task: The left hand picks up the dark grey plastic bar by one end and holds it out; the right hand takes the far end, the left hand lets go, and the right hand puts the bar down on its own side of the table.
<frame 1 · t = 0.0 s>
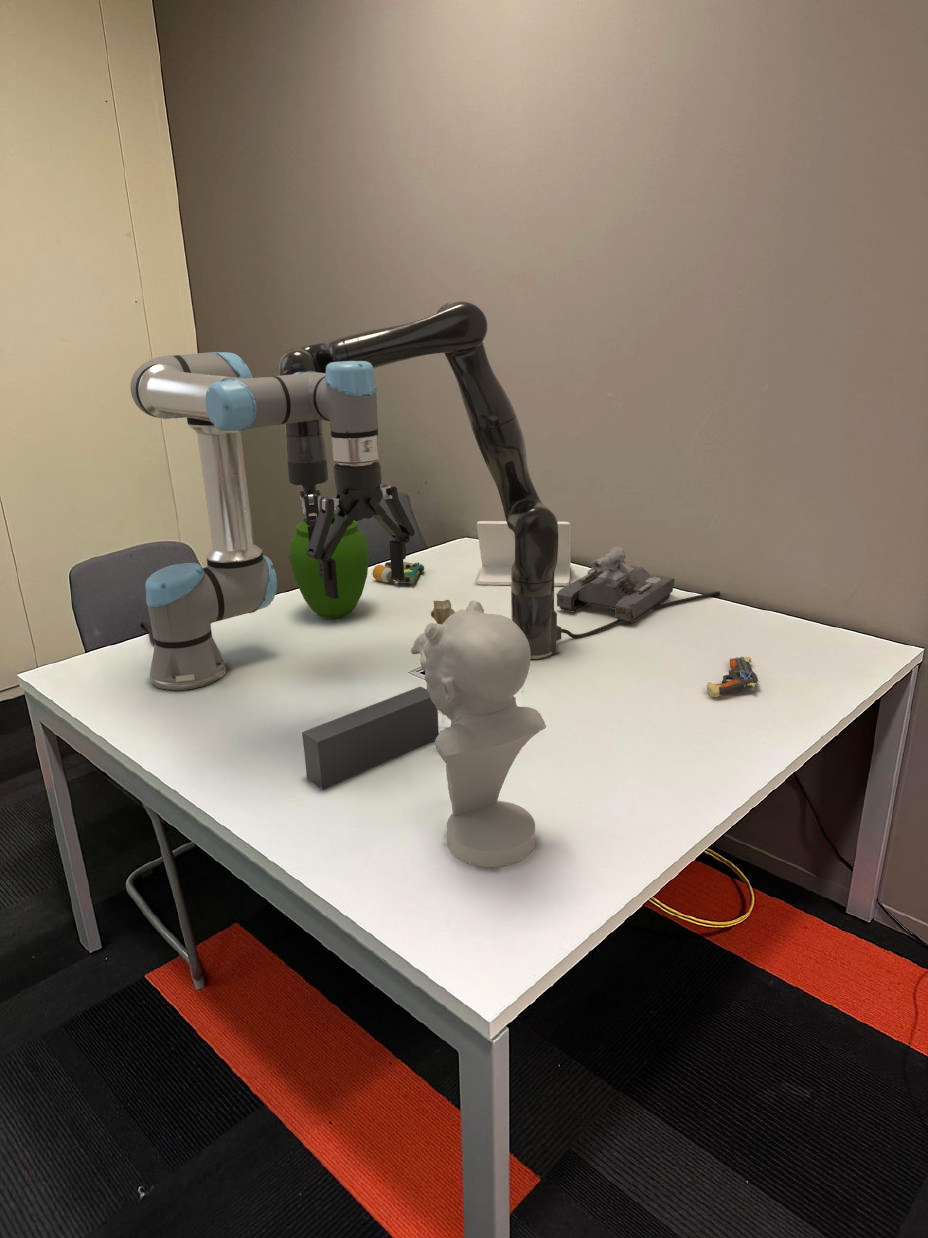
left hand: (365, 587, 144), 28 cm above the table, tool pointing down, fingers open, 13 cm apart
right hand: (314, 539, 170), 29 cm above the table, tool pointing down, fingers open, 8 cm apart
tablet stand: (525, 575, 239), on the table
vase: (334, 614, 214), on the table
spray gun: (401, 577, 240), on the table
sculpture: (445, 671, 180), on the table
bar: (375, 757, 146), on the table
toy gun: (730, 681, 171), on the table
bust sculpture: (470, 832, 125), on the table
toy: (615, 605, 214), on the table
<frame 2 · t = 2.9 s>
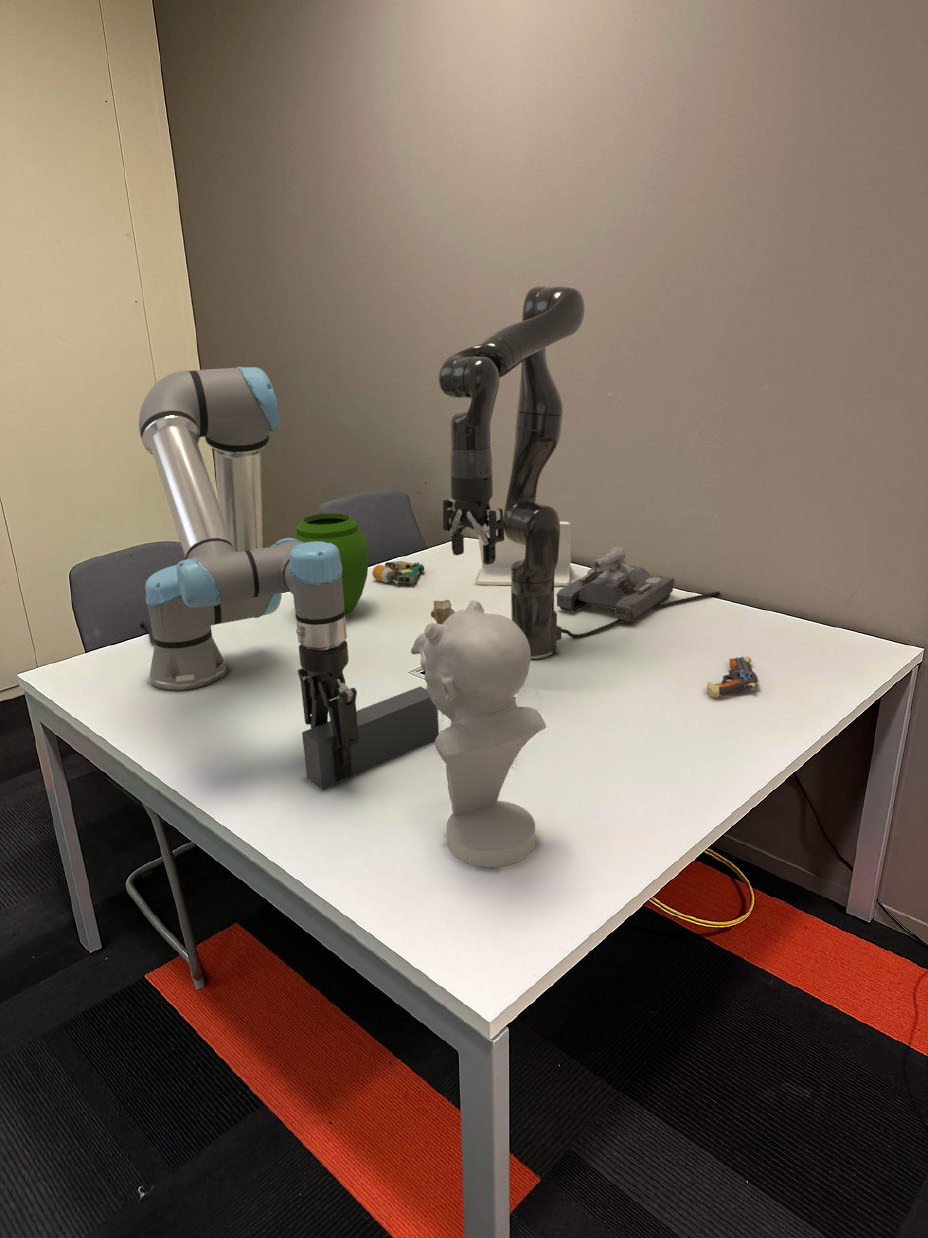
left hand: (334, 772, 141), 1 cm above the table, tool pointing down, fingers closed on bar, 5 cm apart
right hand: (473, 558, 159), 28 cm above the table, tool pointing down, fingers open, 8 cm apart
bar: (375, 757, 146), on the table, touching left hand
everything else where it was.
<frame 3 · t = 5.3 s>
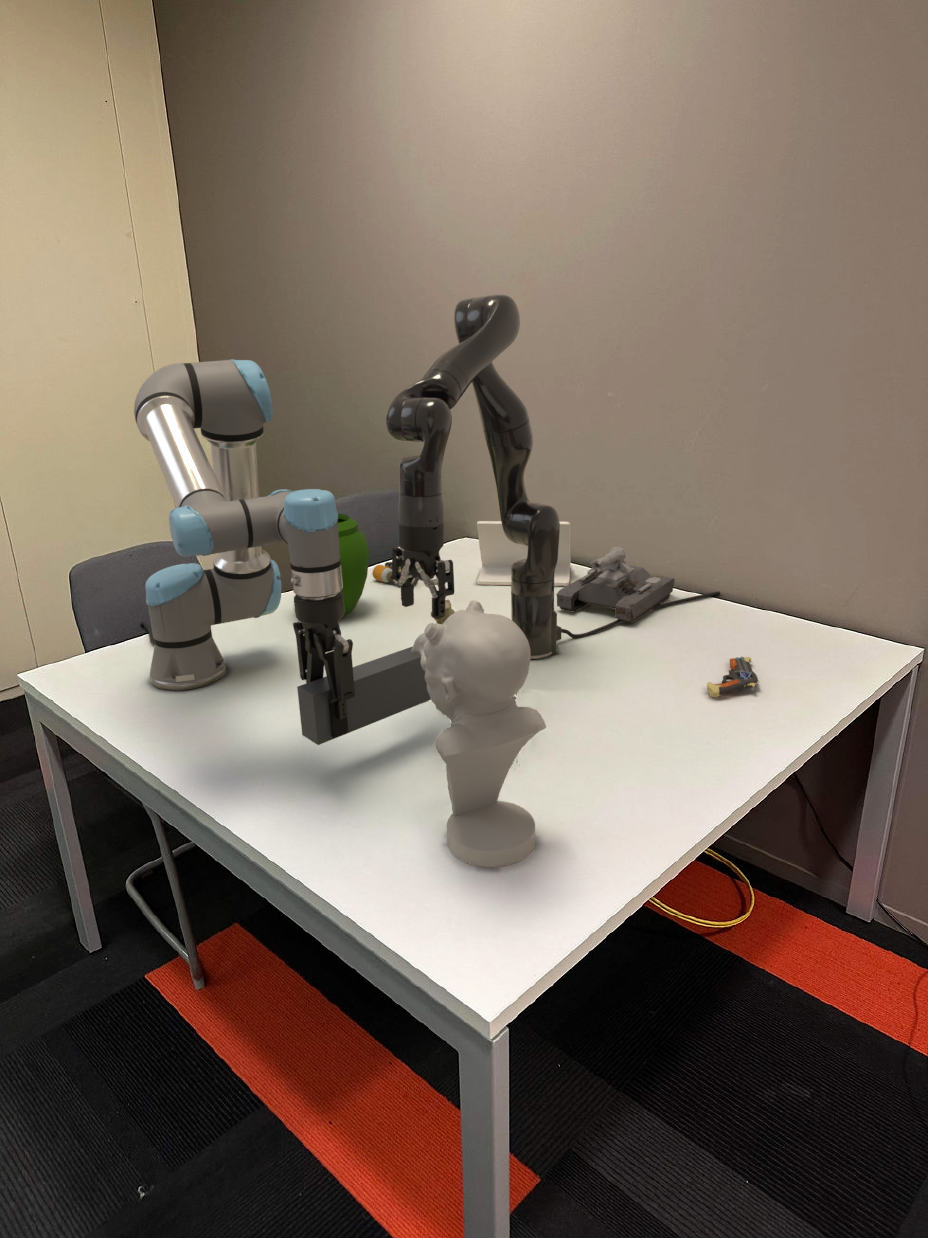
left hand: (330, 728, 138), 9 cm above the table, tool pointing down, fingers closed on bar, 5 cm apart
right hand: (422, 611, 148), 23 cm above the table, tool pointing down, fingers open, 8 cm apart
bar: (372, 715, 144), point 8 cm above the table, touching left hand
everything else where it was.
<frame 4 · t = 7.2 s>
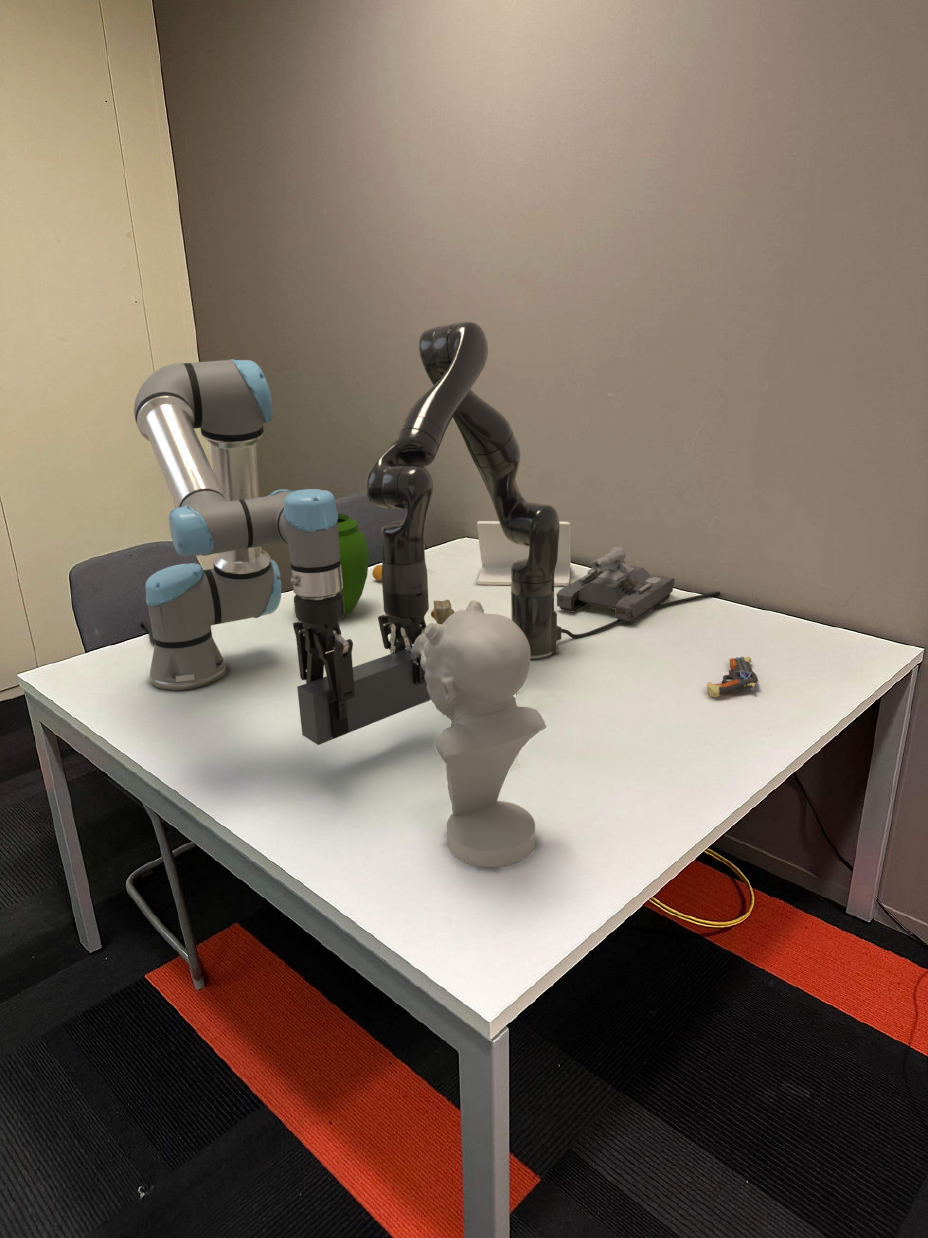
left hand: (330, 728, 138), 9 cm above the table, tool pointing down, fingers closed on bar, 5 cm apart
right hand: (410, 678, 147), 12 cm above the table, tool pointing down, fingers closed on bar, 4 cm apart
bar: (372, 715, 144), point 8 cm above the table, touching right hand, left hand
everything else where it was.
when the left hand's fingers open (9 cm above the table, at t = 8.0 s): bar stays where it is, held by the right hand.
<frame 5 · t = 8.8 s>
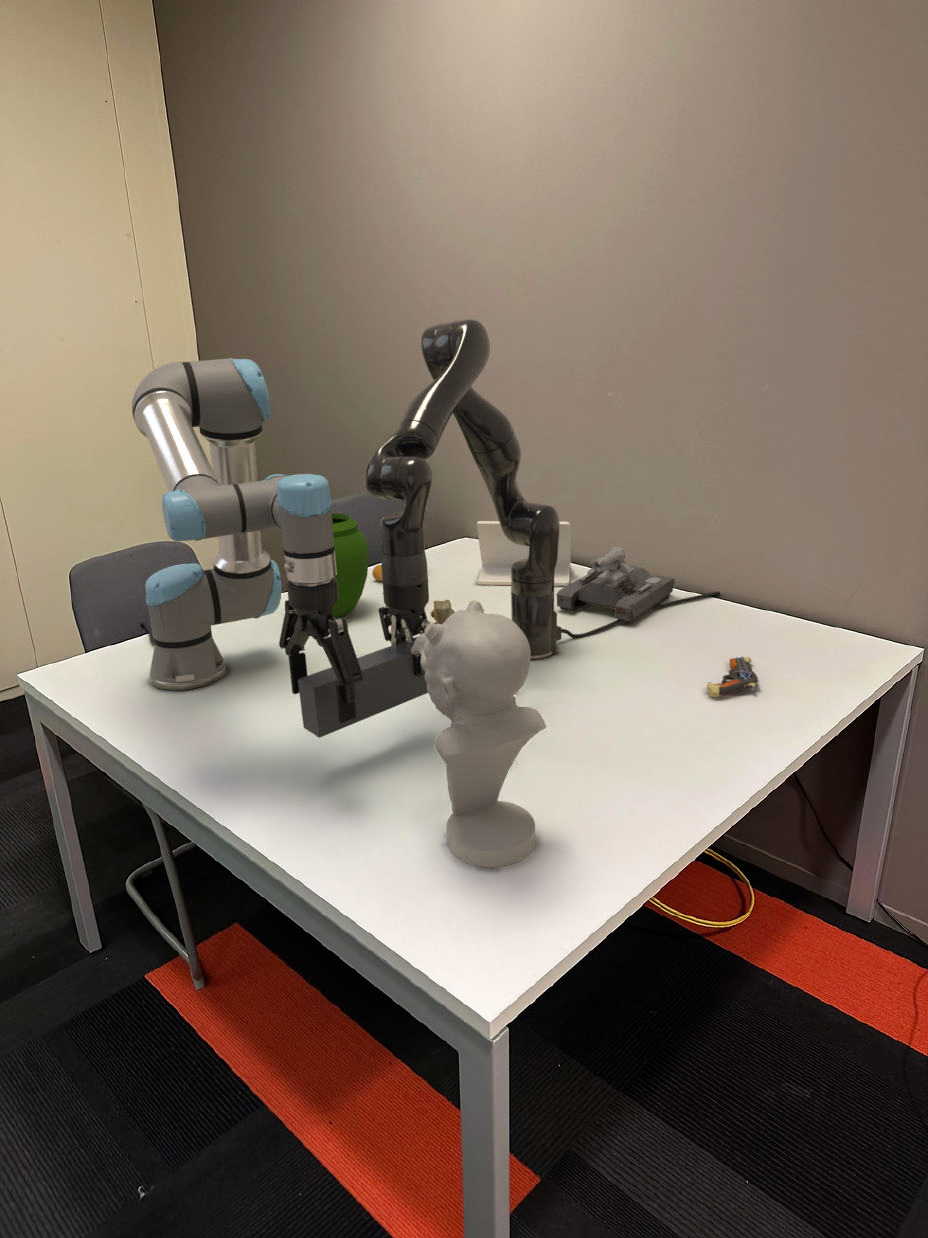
left hand: (323, 705, 136), 13 cm above the table, tool pointing down, fingers open, 13 cm apart
right hand: (411, 670, 147), 14 cm above the table, tool pointing down, fingers closed on bar, 4 cm apart
bar: (373, 707, 143), point 9 cm above the table, touching right hand
everything else where it was.
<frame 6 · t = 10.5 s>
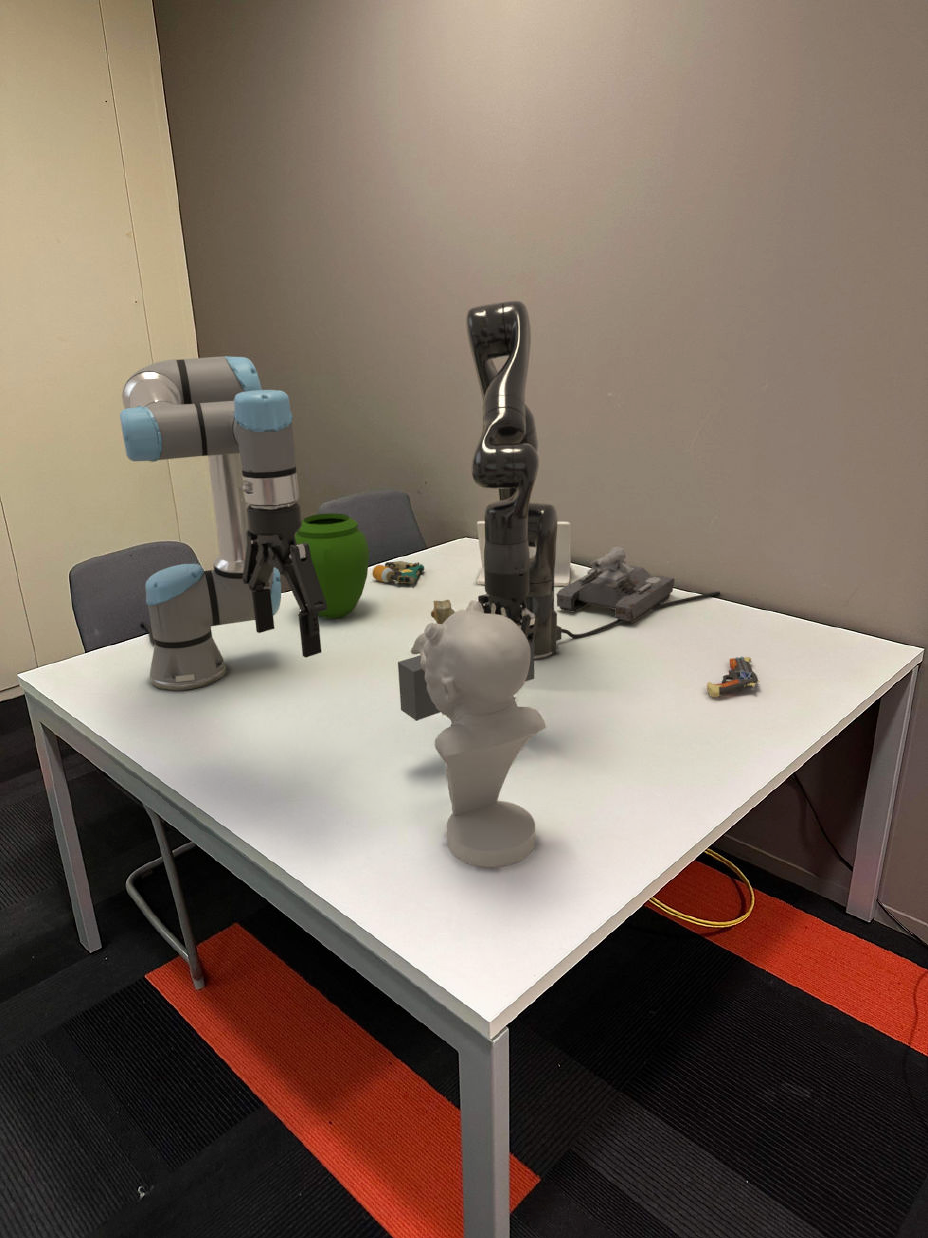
left hand: (288, 642, 129), 26 cm above the table, tool pointing down, fingers open, 13 cm apart
right hand: (508, 658, 147), 15 cm above the table, tool pointing down, fingers closed on bar, 4 cm apart
bar: (469, 694, 144), point 11 cm above the table, touching right hand
everything else where it was.
when the right hand's fingers open (5 cm above the table, at t = 13.8 s): bar drops 1 cm, on the table.
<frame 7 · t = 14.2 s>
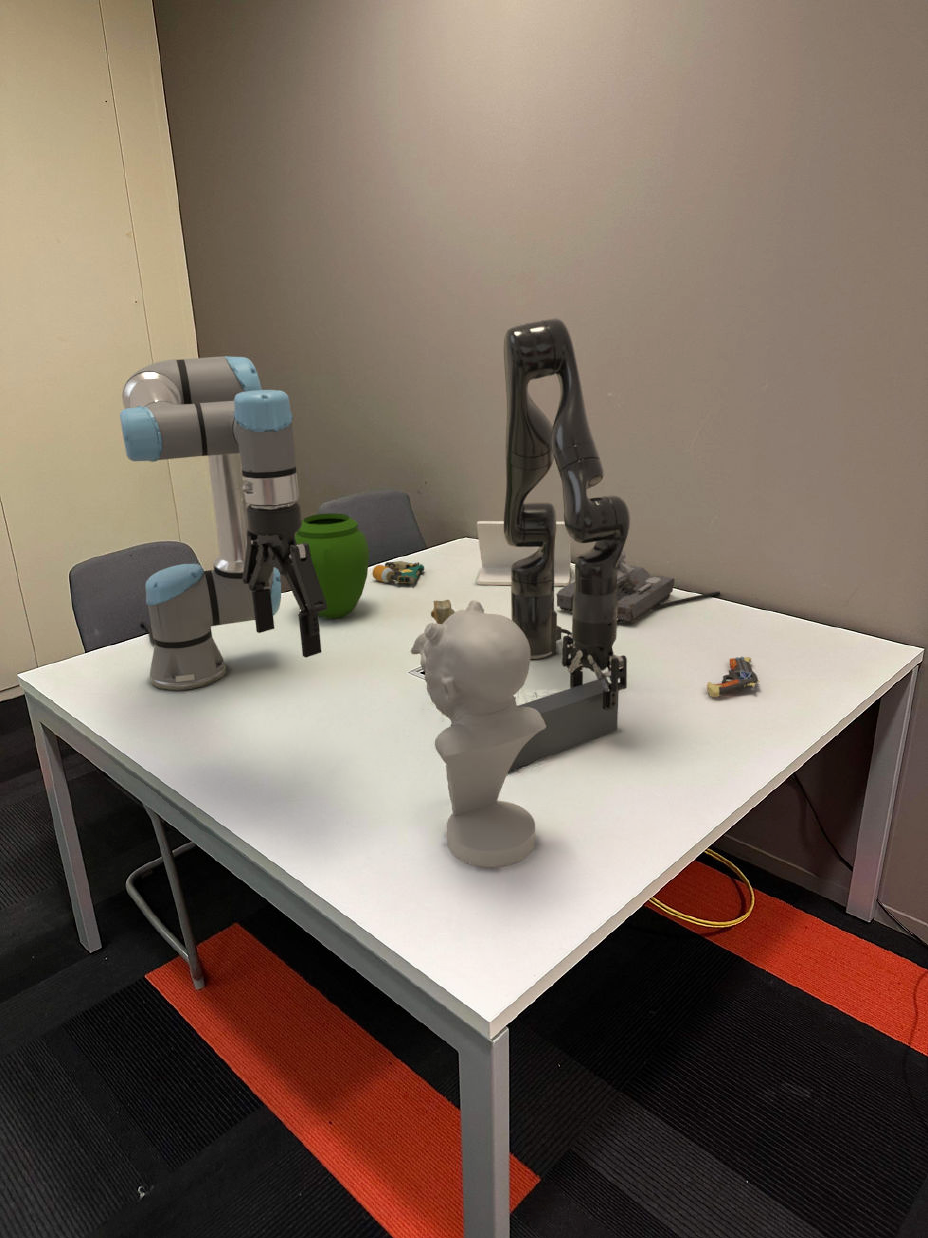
left hand: (288, 642, 129), 26 cm above the table, tool pointing down, fingers open, 13 cm apart
right hand: (592, 700, 150), 6 cm above the table, tool pointing down, fingers open, 8 cm apart
bar: (555, 745, 149), on the table
everything else where it was.
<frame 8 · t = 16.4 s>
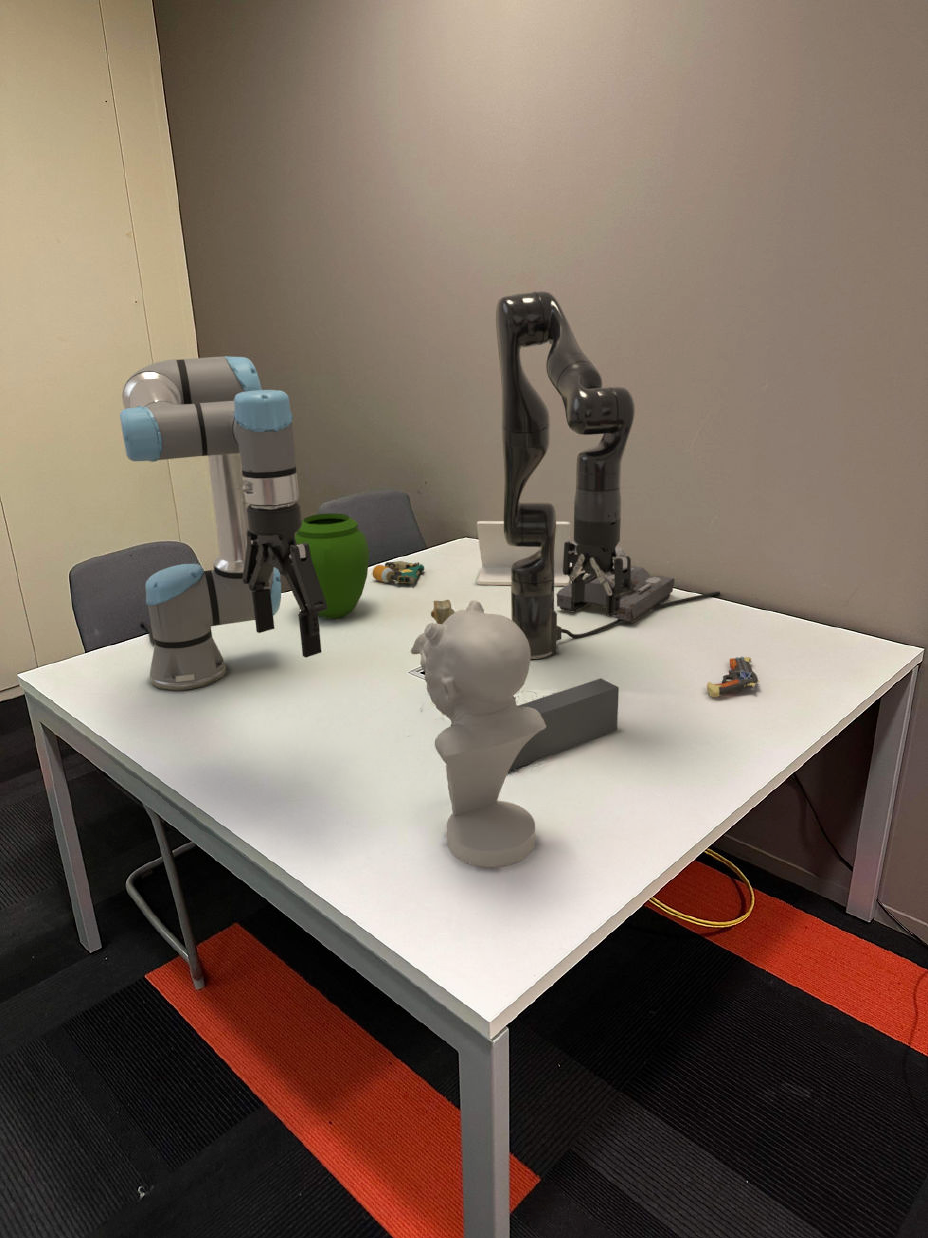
left hand: (288, 642, 129), 26 cm above the table, tool pointing down, fingers open, 13 cm apart
right hand: (594, 608, 144), 24 cm above the table, tool pointing down, fingers open, 8 cm apart
nothing on the table moved.
at the end: bar inside the target area (8.1 cm from its centre), on the table; the left hand is holding nothing; the right hand is holding nothing; bar at rest at the end (0.0 cm/s) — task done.
